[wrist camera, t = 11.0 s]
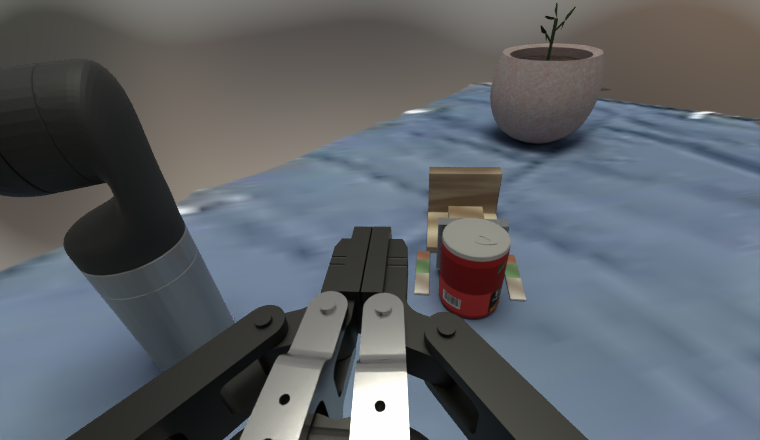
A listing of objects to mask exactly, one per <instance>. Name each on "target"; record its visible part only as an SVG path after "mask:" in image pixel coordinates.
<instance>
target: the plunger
mask: <svg viewBox="0 0 760 440" xmlns="http://www.w3.org/2000/svg"><path fill="white" fill-rule="evenodd" d="M458 219H463V218H438V238H437V259H436V268H440V261H441V243H442V235H443V230H444V228H445V227H446V226H447V225H448V224H449V223H451V222H453V221H455V220H458ZM484 220H488V221H491V222H494V223H496V224H498V225H499V226H501V227H502V228H504V229H505V230H506V231H507V233H508V230H509V224H508V221H507V219H484Z"/></svg>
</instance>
